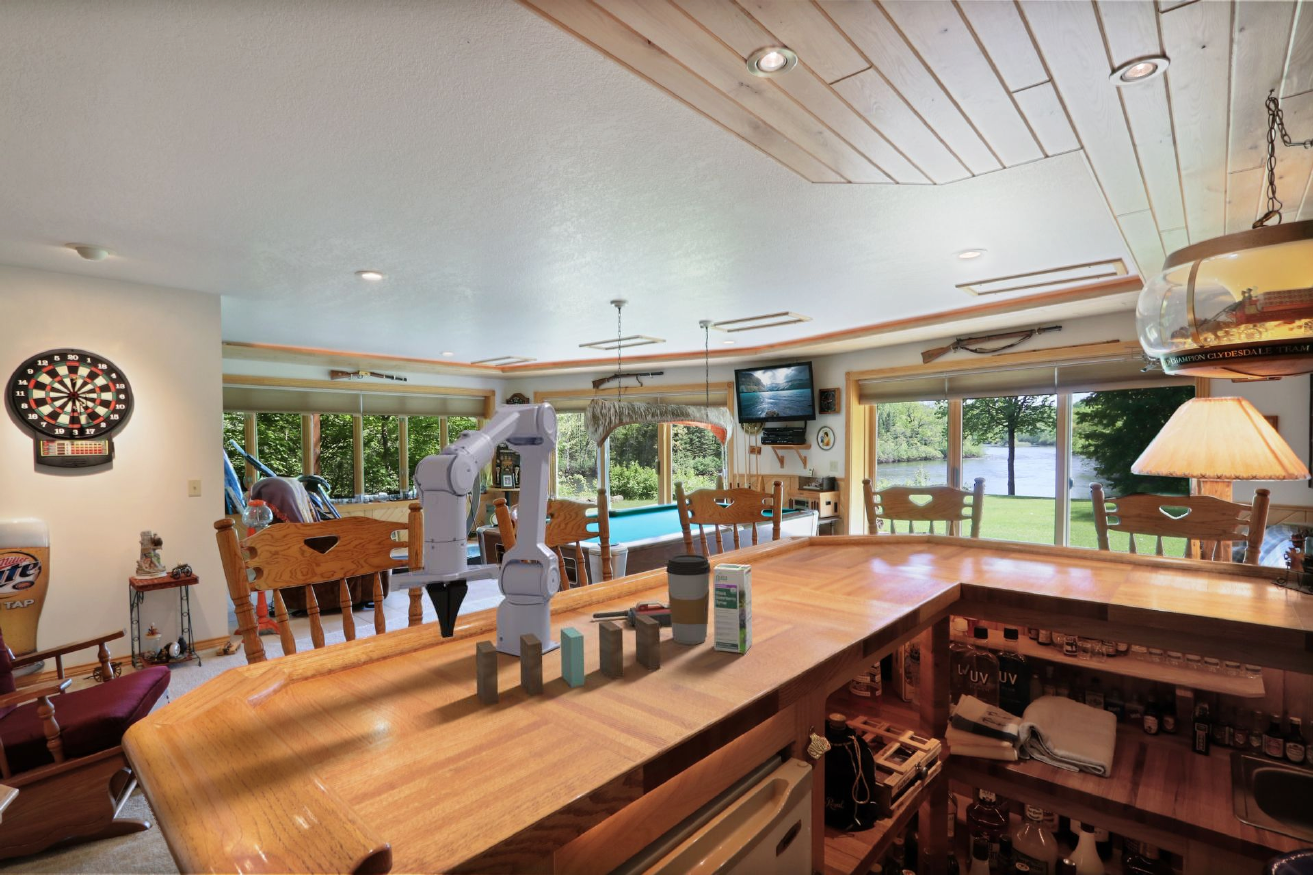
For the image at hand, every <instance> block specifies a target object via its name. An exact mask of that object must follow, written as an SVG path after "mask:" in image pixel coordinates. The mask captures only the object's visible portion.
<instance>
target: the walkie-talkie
mask: <svg viewBox="0 0 1313 875" xmlns="http://www.w3.org/2000/svg"><path fill="white" fill-rule="evenodd" d="M642 615H647V616H649V617H651V618H652V619H654V620H656V621H658V622H659V627H667V626H672V623H671V616H670V604H669V600H668V601H667V604H663V603H662V602H660V601H658V600H649V601H645V600H644V601H639V602H637V603H636V605H635V606H630V607H629V609H626V610H623V611H622V610H621V611H610V612H609V611H608V612H607V611H606V612H596V613H593V615H592V618H593V619H605V618H618V617H619V618H620V617H624V618H625V617H627V621H629V622H628V623H629V625H630V626H633V627H634V626H635V617H636V616H642Z"/></svg>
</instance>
